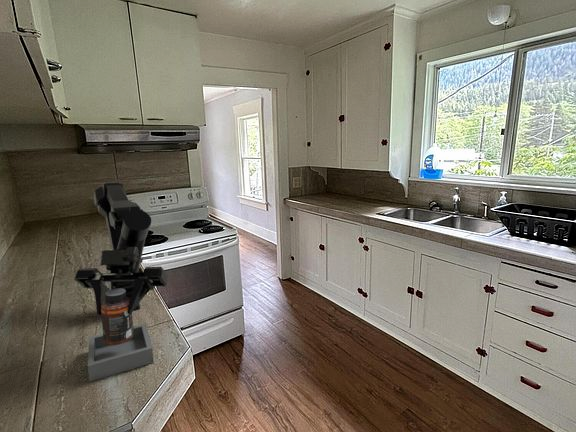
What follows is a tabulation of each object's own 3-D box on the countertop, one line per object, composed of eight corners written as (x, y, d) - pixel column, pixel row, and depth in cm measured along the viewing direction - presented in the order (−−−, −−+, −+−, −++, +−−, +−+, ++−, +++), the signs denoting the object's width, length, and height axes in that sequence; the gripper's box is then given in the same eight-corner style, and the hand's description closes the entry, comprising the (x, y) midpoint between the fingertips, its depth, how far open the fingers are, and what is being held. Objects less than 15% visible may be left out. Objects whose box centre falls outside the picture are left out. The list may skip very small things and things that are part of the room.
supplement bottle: (138, 338, 71) (135, 292, 69) (109, 350, 66) (105, 300, 64) (127, 328, 75) (124, 284, 73) (99, 338, 70) (95, 291, 68)
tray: (90, 350, 73) (89, 337, 73) (146, 336, 79) (145, 323, 79) (89, 381, 63) (87, 366, 62) (153, 362, 69) (152, 348, 68)
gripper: (73, 234, 69) (47, 303, 60) (160, 233, 71) (148, 300, 62) (95, 257, 78) (75, 320, 70) (172, 255, 80) (162, 316, 71)
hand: (114, 314), depth 68 cm, fingers closed on supplement bottle, 6 cm apart
